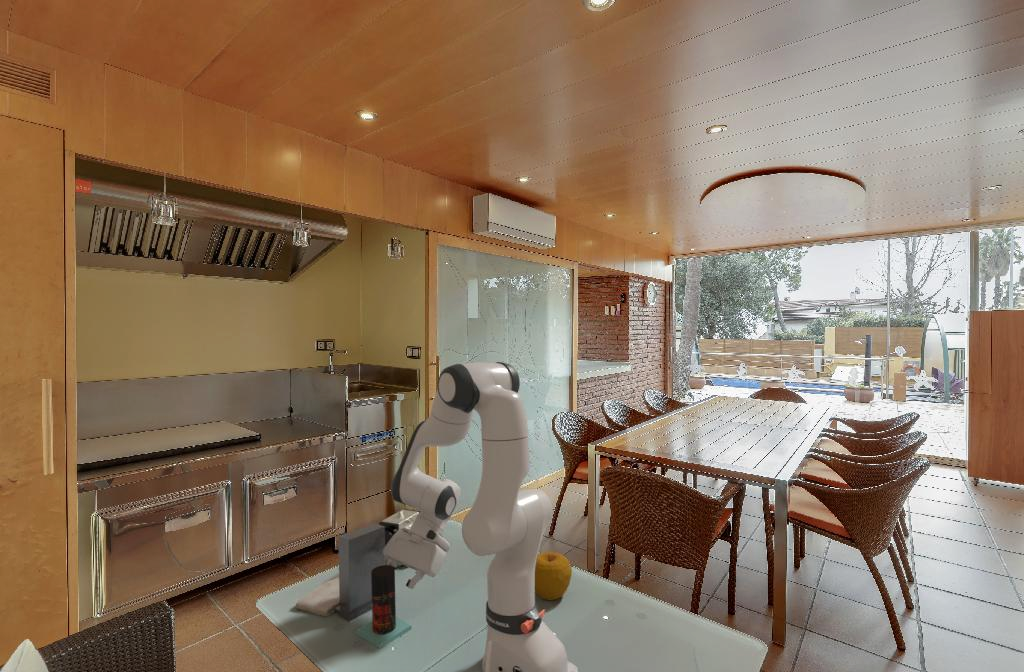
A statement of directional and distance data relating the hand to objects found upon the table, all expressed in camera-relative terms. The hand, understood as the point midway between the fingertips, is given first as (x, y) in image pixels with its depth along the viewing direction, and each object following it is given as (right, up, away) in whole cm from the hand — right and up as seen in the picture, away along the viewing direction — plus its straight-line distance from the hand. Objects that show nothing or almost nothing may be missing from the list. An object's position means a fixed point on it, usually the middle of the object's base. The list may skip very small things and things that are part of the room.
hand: (397, 582), depth 129 cm
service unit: (-12, -11, +9) cm, 19 cm away
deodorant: (-3, -10, -4) cm, 11 cm away
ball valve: (-6, -12, +35) cm, 37 cm away
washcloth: (-22, -12, +14) cm, 29 cm away
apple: (+42, -10, +13) cm, 46 cm away
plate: (-3, -11, -4) cm, 12 cm away
